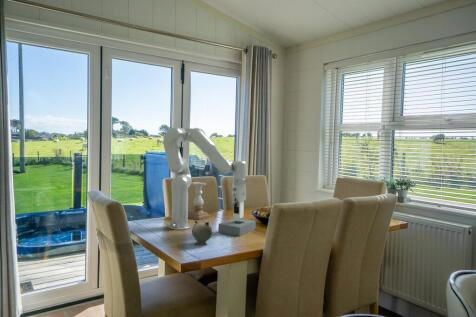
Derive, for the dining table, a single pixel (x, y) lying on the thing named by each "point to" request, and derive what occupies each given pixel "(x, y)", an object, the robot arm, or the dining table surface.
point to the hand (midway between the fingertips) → (238, 212)
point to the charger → (241, 210)
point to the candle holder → (198, 203)
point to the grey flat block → (237, 226)
